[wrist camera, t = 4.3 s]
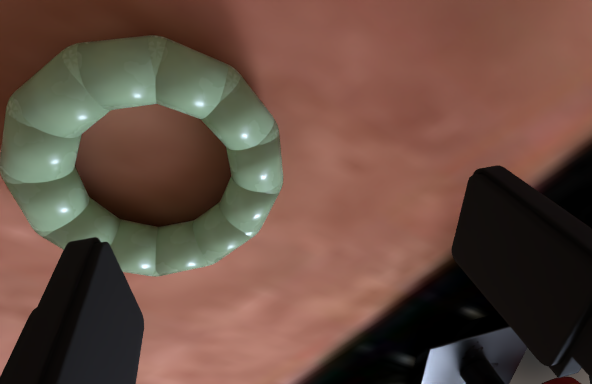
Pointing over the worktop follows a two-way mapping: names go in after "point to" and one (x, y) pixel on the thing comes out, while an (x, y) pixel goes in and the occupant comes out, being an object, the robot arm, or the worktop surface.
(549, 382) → the canned food
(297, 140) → the worktop surface
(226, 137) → the ring
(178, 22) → the worktop surface
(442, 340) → the stand
